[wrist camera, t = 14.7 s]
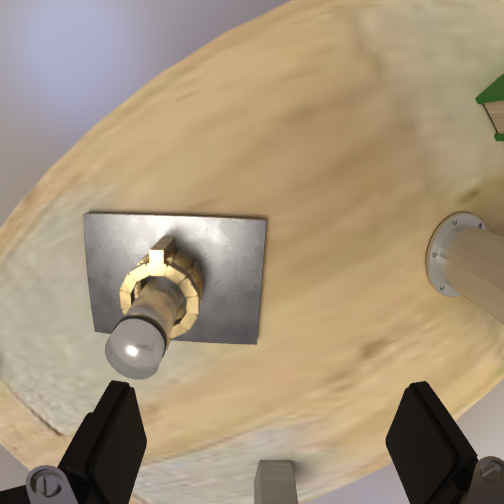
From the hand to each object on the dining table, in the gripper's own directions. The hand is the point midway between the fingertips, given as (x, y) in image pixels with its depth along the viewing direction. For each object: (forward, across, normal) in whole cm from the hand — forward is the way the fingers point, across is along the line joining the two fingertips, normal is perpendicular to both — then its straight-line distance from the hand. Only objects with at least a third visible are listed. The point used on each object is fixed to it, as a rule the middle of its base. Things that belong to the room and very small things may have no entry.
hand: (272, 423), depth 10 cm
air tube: (+28, +10, +6) cm, 30 cm away
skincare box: (+30, -5, +45) cm, 54 cm away
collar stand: (+29, +10, +6) cm, 31 cm away
